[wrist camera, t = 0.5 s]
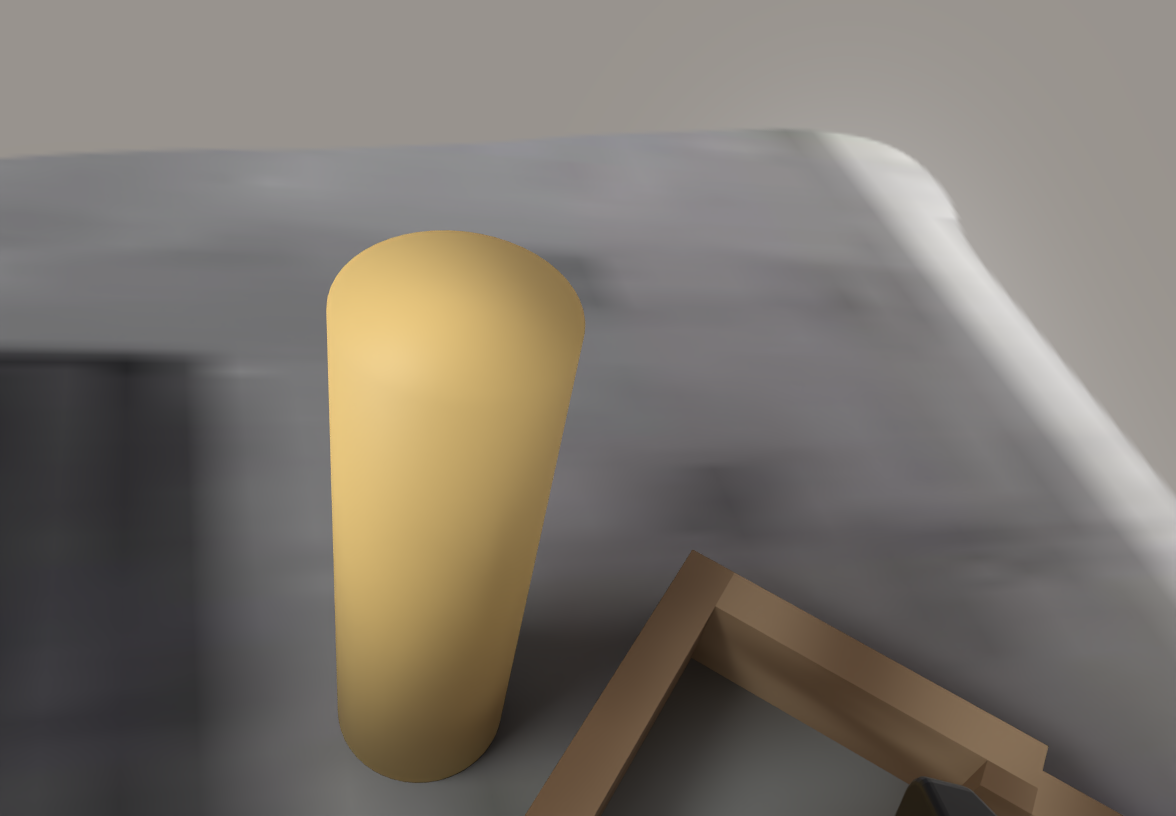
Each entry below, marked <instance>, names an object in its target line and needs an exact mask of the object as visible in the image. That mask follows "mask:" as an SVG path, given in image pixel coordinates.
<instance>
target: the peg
mask: <svg viewBox="0 0 1176 816" xmlns="http://www.w3.org/2000/svg"><path fill="white" fill-rule="evenodd" d="M584 334H585V318H584V311H583V308H582V305H581V302H580V300H579V298H578V296H577V294H576V292H575V290H574V289H573V287H572V286H571V285H570V283H569V282H568V281H567V279H566V278H565V277H564V276H563V275H562V274H561V273H560V272H559V271H558V270H557V269H555V268H554V267H553V266H552V265H551V264H549V263H548V262H547V261H545V260H544V259H542V258H541V257H539V256H538V255H536V254H534V253H532V252H530V251H529V250H527V249H525V248H523V247H520V246H518V245H516V244H513V243H511V242H508V241H505V240H502V239H499V238H496V237H492V236H487V235H483V234H478V233H471V232H464V231H449V230H446V231H425V232H416V233H411V234H406V235H401V236H398V237H394V238H391V239H388V240H385V241H383V242H380V243H378V244H375V245H373V246H372V247H370V248H368V249H366V250H364V251H363V252H361V253H360V254H358V255H357V256H355V257H354V258H353V259H352V260H351V261H349V262H348V263H347V264H346V265H345V266H344V267H343V269H342V270H341V271H340V272H339V274H338V275H337V276H336V278H335V280H334V282H333V284H332V286H331V288H330V291H329V295H328V299H327V344H328V379H329V415H330V450H331V485H332V520H333V555H334V590H335V626H336V661H337V696H338V717H339V723H340V728H341V731H342V734H343V736H344V739H345V741H346V742H347V744H348V746H349V748H350V749H351V750H352V752H353V753H354V754H355V755H356V757H357V758H358V759H359V760H360V761H362V762H363V763H364V764H365V765H366V766H368V767H369V768H370V769H372V770H373V771H375V772H377V773H379V774H381V775H383V776H386V777H388V778H391V779H394V780H399V781H403V782H414V783H419V782H431V781H437V780H441V779H444V778H448V777H450V776H452V775H455V774H457V773H459V772H461V771H462V770H464V769H466V768H467V767H469V766H470V765H471V764H473V763H474V762H475V761H477V760H478V758H479V757H480V756H481V755H482V754H483V753H484V752H485V751H486V750H487V748H488V747H489V745H490V744H491V742H492V740H493V739H494V737H495V735H496V732H497V730H498V727H499V724H500V719H501V715H502V710H503V706H504V701H505V697H506V692H507V687H508V683H509V678H510V674H511V669H512V664H513V660H514V655H515V651H516V646H517V641H518V637H519V632H520V628H521V623H522V618H523V614H524V609H525V605H526V600H527V595H528V591H529V586H530V582H531V577H532V573H533V568H534V563H535V559H536V554H537V550H538V545H539V540H540V536H541V531H542V527H543V522H544V517H545V513H546V508H547V504H548V499H549V494H550V490H551V485H552V481H553V476H554V471H555V467H556V462H557V458H558V453H559V448H560V444H561V439H562V435H563V430H564V426H565V421H566V416H567V412H568V407H569V403H570V398H571V393H572V389H573V384H574V380H575V375H576V370H577V366H578V361H579V357H580V352H581V347H582V343H583V338H584Z"/></svg>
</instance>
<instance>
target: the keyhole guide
mask: <svg viewBox="0 0 1176 816" xmlns="http://www.w3.org/2000/svg"><path fill="white" fill-rule="evenodd" d="M1047 750H1048V746H1047V745H1045V744H1043V743H1042V742H1040V741H1038V740H1036V739H1034V738H1033V737H1031V736H1029V735H1027V734H1025V733H1024V732H1022V731H1020V730H1018V729H1016V728H1014V727H1013V726H1011V725H1009V724H1007V723H1005V722H1004V721H1002V720H1000V719H998V718H996V717H995V716H993V715H991V714H989V713H987V712H986V711H984V710H982V709H980V708H978V707H977V706H975V705H973V704H971V703H969V702H967V701H966V700H964V699H962V698H960V697H958V696H957V695H955V694H953V693H951V692H949V691H948V690H946V689H944V688H942V687H940V686H939V685H937V684H935V683H933V682H931V681H930V680H928V679H926V678H924V677H922V676H920V675H919V674H917V673H915V672H913V671H911V670H910V669H908V668H906V667H904V666H902V665H901V664H899V663H897V662H895V661H893V660H892V659H890V658H888V657H886V656H884V655H883V654H881V653H879V652H877V651H875V650H873V649H872V648H870V647H868V646H866V645H864V644H863V643H861V642H859V641H857V640H855V639H854V638H852V637H850V636H848V635H846V634H845V633H843V632H841V631H839V630H837V629H836V628H834V627H832V626H830V625H828V624H826V623H825V622H823V621H821V620H819V619H817V618H816V617H814V616H812V615H810V614H808V613H807V612H805V611H803V610H801V609H799V608H798V607H796V606H794V605H792V604H790V603H788V602H787V601H785V600H783V599H781V598H779V597H778V596H776V595H774V594H772V593H770V592H769V591H767V590H765V589H763V588H761V587H760V586H758V585H756V584H754V583H752V582H751V581H749V580H747V579H745V578H743V577H741V576H740V575H738V574H736V573H734V572H732V571H731V570H729V569H727V568H725V567H723V566H722V565H720V564H718V563H716V562H714V561H713V560H711V559H709V558H707V557H705V556H704V555H702V554H700V553H698V552H696V551H694V550H692V551H691V553H690V554H689V556H688V558H687V559H686V561H685V562H684V564H683V566H682V567H681V569H680V570H679V572H678V573H677V575H676V577H675V578H674V580H673V581H672V583H671V585H670V586H669V588H668V589H667V591H666V593H665V594H664V596H663V597H662V599H661V600H660V602H659V604H658V605H657V607H656V608H655V610H654V612H653V613H652V615H651V616H650V618H649V619H648V621H647V623H646V624H645V626H644V627H643V629H642V631H641V632H640V634H639V635H638V637H637V638H636V640H635V642H634V643H633V645H632V646H631V648H630V650H629V651H628V653H627V654H626V656H625V658H624V659H623V661H622V662H621V664H620V665H619V667H618V669H617V670H616V672H615V673H614V675H613V677H612V678H611V680H610V681H609V683H608V684H607V686H606V688H605V689H604V691H603V692H602V694H601V696H600V697H599V699H598V700H597V702H596V704H595V705H594V707H593V708H592V710H591V711H590V713H589V715H588V716H587V718H586V719H585V721H584V723H583V724H582V726H581V727H580V729H579V730H578V732H577V734H576V735H575V737H574V738H573V740H572V742H571V743H570V745H569V746H568V748H567V749H566V751H565V753H564V754H563V756H562V757H561V759H560V761H559V762H558V764H557V765H556V767H555V769H554V770H553V772H552V773H551V775H550V776H549V778H548V780H547V781H546V783H545V784H544V786H543V788H542V789H541V791H540V792H539V794H538V795H537V797H536V799H535V800H534V802H533V803H532V805H531V807H530V808H529V810H528V811H527V813H526V814H525V816H895V814H896V812H897V809H898V807H899V805H900V803H901V800H902V798H903V796H904V793H905V791H906V789H907V787H908V786H909V785H910V783H911V782H912V781H913V780H914V779H916V778H919V777H921V776H925V777H929V778H934V779H938V780H942V781H946V782H950V783H954V784H958V785H962V786H965V787H967V788H969V789H971V790H972V791H973V792H974V793H975V794H976V795H977V796H978V797H979V798H980V799H981V800H982V801H983V802H984V803H985V804H986V805H987V806H988V807H989V808H990V809H991V810H992V811H993V812H994V813H995V814H996V815H997V816H1123V815H1121V814H1119V813H1117V812H1116V811H1114V810H1112V809H1110V808H1109V807H1107V806H1105V805H1103V804H1101V803H1100V802H1098V801H1096V800H1094V799H1092V798H1091V797H1089V796H1087V795H1085V794H1084V793H1082V792H1080V791H1078V790H1076V789H1075V788H1073V787H1071V786H1069V785H1067V784H1066V783H1064V782H1062V781H1060V780H1059V779H1057V778H1055V777H1053V776H1051V775H1050V774H1048V773H1046V772H1044V771H1042V770H1043V766H1044V762H1045V758H1046V754H1047Z"/></svg>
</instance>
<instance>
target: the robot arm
mask: <svg viewBox="0 0 1176 816" xmlns="http://www.w3.org/2000/svg"><path fill="white" fill-rule="evenodd" d="M895 816H997V815H996V814H995V813H994V812H993V811H992V810H991V809H990V808H989V807H988V806H987V805H986V804H985V803H984V802H983V801H982V800H981V799H980V798H979V797H978V796H977V795H976V794H975V793H974V792H973V791H972V790H971V789H969V788H967V787H965V786H962V785H958V784H954V783H950V782H946V781H942V780H938V779H934V778H929V777H925V776H921V777H919V778H916V779H914V780H913V781H912V782H911V783H910V785H909V786H908V787H907V789H906V791H905V793H904V796H903V798H902V800H901V803H900V805H899V807H898V809H897V812H896V814H895Z"/></svg>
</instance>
